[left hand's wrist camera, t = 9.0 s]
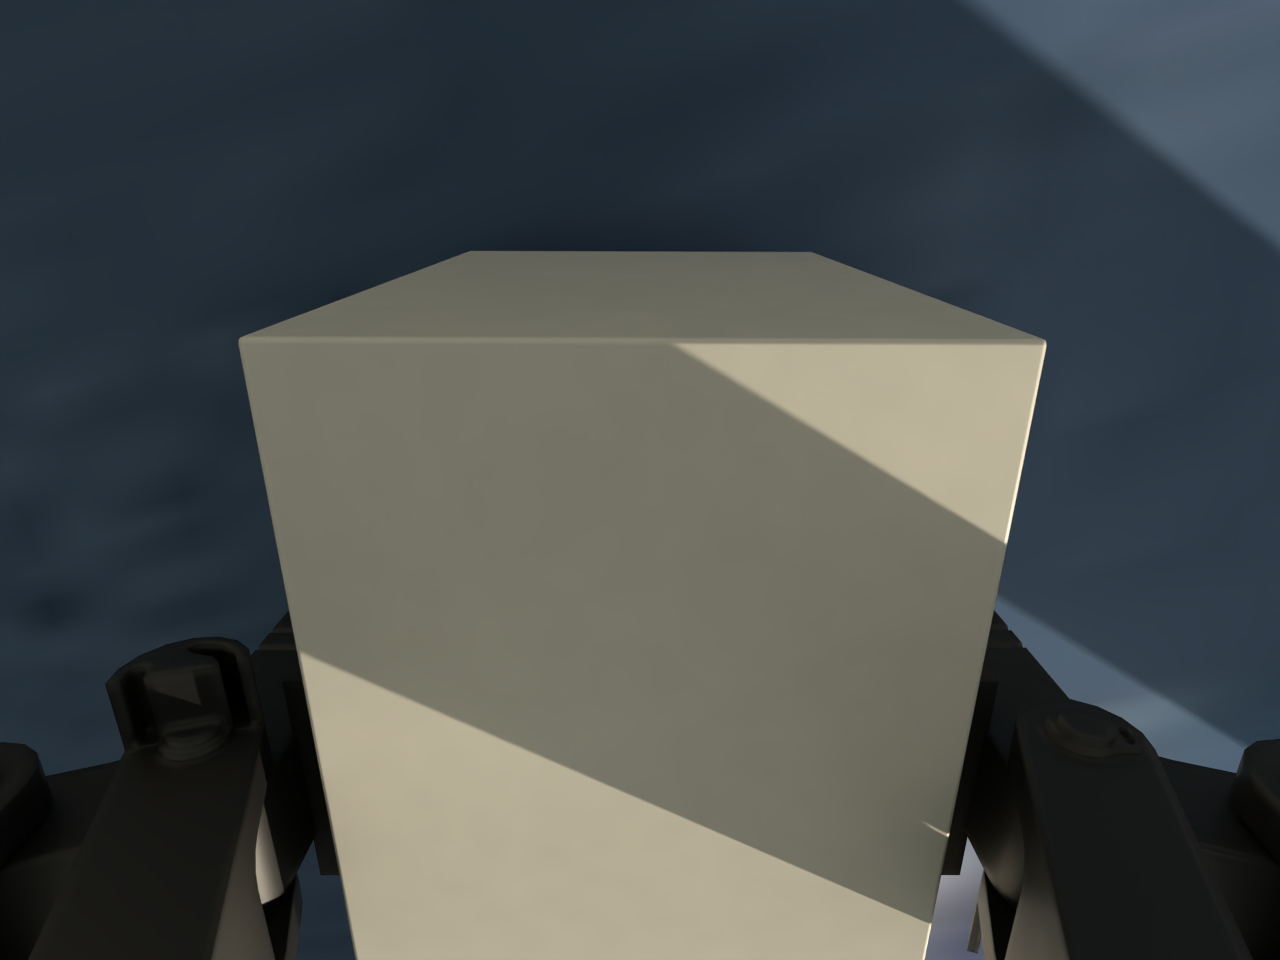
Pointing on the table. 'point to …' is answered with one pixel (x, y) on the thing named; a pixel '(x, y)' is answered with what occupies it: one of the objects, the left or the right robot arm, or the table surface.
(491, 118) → the table surface
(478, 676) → the beam
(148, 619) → the table surface
